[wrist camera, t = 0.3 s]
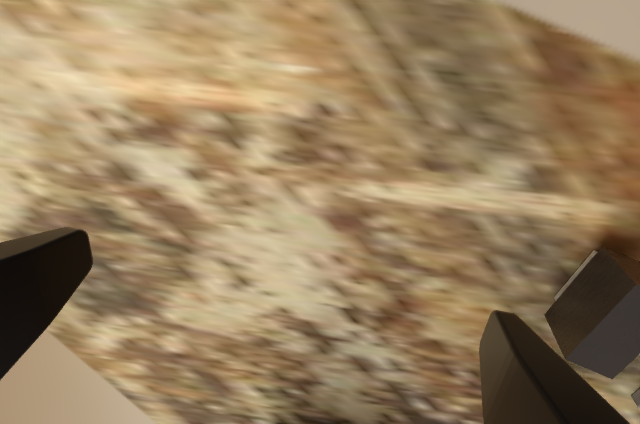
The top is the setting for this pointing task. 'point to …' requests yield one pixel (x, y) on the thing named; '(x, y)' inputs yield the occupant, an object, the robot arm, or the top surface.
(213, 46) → the top surface
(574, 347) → the vise jaw
